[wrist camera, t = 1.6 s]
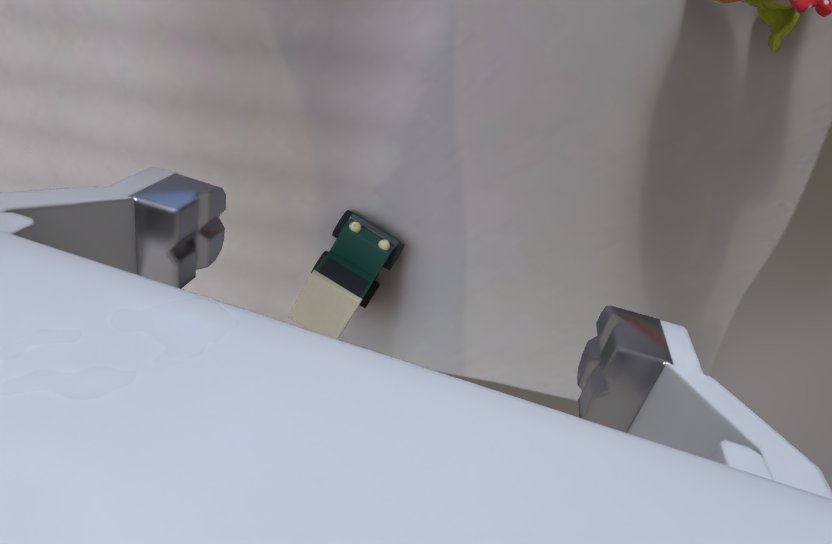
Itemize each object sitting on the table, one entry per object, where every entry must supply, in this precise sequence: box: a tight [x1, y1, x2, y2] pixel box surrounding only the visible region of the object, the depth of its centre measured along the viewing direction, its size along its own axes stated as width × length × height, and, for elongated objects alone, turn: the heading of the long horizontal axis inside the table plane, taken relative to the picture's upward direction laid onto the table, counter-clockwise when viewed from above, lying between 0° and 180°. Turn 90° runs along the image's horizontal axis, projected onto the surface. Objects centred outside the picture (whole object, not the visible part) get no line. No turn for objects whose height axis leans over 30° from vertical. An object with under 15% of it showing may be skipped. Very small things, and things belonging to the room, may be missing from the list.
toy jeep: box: [288, 210, 404, 339], centre depth 47 cm, size 8×6×8 cm
